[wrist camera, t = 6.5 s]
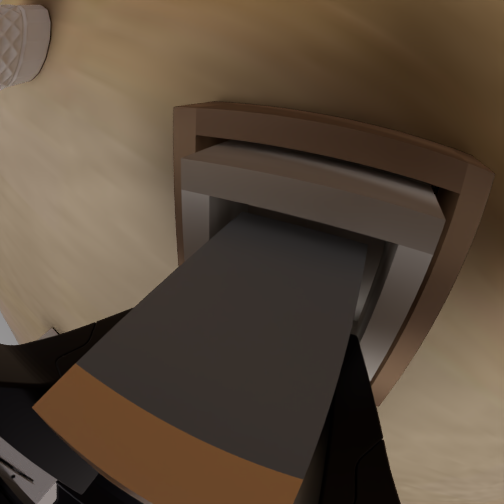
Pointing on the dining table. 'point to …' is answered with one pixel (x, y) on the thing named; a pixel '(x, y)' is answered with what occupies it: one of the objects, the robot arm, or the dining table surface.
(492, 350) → the dining table surface
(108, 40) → the dining table surface
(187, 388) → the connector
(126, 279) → the dining table surface
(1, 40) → the white cup
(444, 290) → the walled box
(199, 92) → the dining table surface
